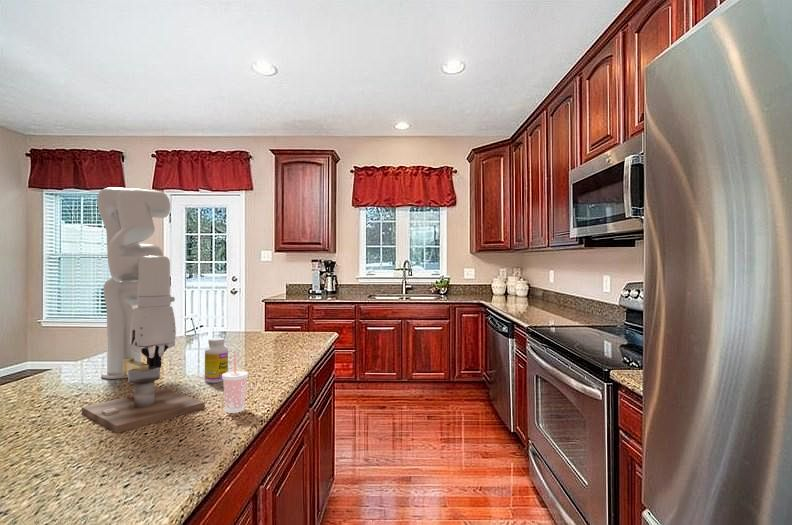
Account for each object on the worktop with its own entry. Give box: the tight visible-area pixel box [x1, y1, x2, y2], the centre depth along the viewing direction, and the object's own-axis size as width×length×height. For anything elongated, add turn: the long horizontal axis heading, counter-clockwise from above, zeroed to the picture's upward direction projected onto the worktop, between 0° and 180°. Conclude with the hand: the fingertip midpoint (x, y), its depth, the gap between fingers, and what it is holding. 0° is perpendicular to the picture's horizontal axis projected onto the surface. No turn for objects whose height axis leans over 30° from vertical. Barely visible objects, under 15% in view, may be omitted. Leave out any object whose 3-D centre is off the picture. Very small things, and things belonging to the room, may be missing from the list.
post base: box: [81, 381, 206, 434], centre depth 110 cm, size 20×20×7 cm
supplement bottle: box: [204, 337, 229, 384], centre depth 137 cm, size 7×7×13 cm
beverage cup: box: [222, 353, 249, 414], centre depth 111 cm, size 6×6×14 cm
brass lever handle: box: [123, 358, 161, 384], centre depth 112 cm, size 13×7×4 cm, turn 53°
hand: (154, 371), depth 118 cm, fingers closed
